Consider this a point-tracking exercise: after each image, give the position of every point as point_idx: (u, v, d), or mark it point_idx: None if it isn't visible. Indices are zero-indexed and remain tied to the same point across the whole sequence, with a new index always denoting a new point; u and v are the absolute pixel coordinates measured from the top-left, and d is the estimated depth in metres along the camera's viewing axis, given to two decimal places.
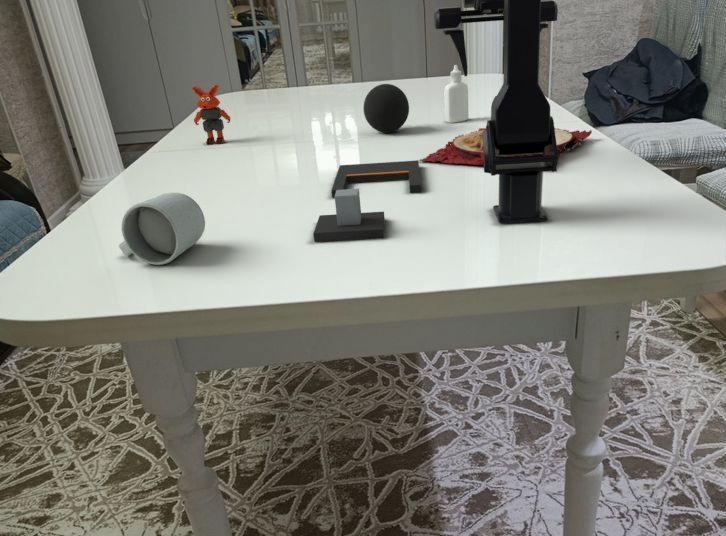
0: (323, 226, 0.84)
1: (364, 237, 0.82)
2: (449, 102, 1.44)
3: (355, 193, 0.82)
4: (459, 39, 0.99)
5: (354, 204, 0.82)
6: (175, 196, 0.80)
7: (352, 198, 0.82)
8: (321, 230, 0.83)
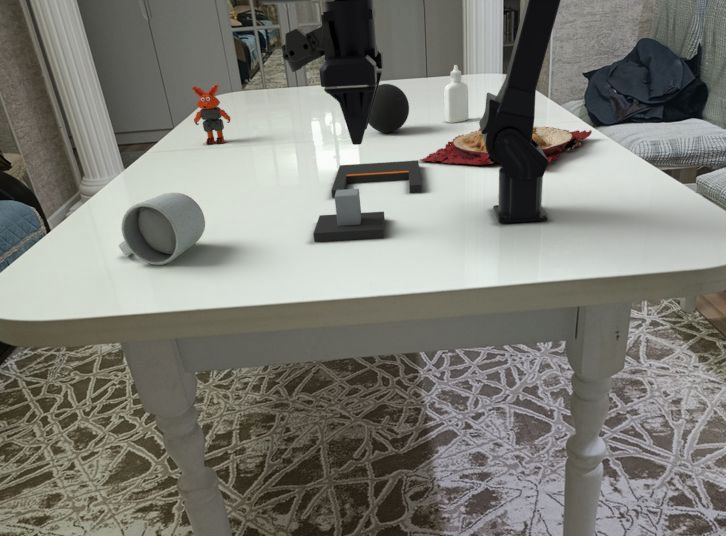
0: (323, 226, 0.84)
1: (364, 237, 0.82)
2: (449, 102, 1.44)
3: (355, 193, 0.82)
4: None
5: (354, 204, 0.82)
6: (175, 196, 0.80)
7: (352, 198, 0.82)
8: (321, 230, 0.83)
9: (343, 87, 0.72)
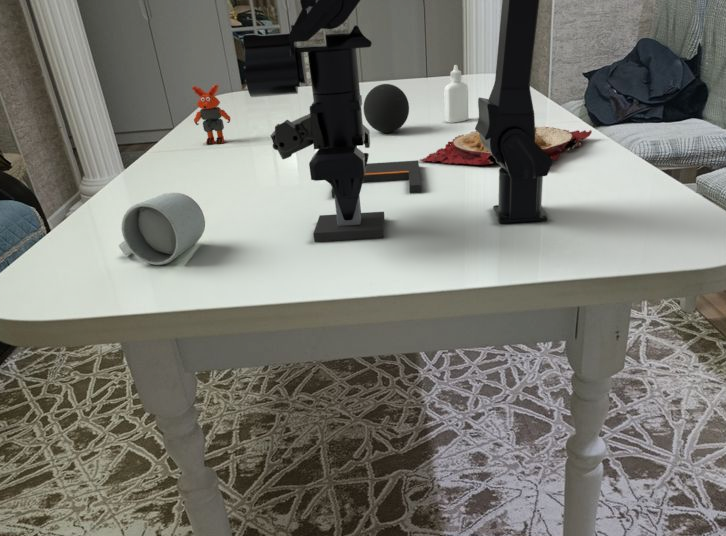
0: (323, 226, 0.84)
1: (364, 237, 0.82)
2: (449, 102, 1.44)
3: None
4: None
5: None
6: (176, 196, 0.80)
7: None
8: (321, 230, 0.83)
9: None
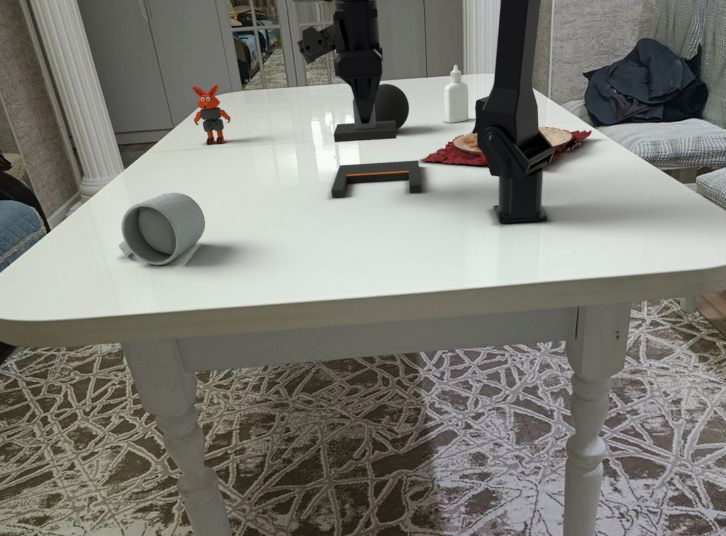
0: (342, 130, 0.93)
1: (379, 138, 0.92)
2: (449, 102, 1.44)
3: None
4: None
5: None
6: (175, 196, 0.80)
7: None
8: (340, 132, 0.92)
9: None
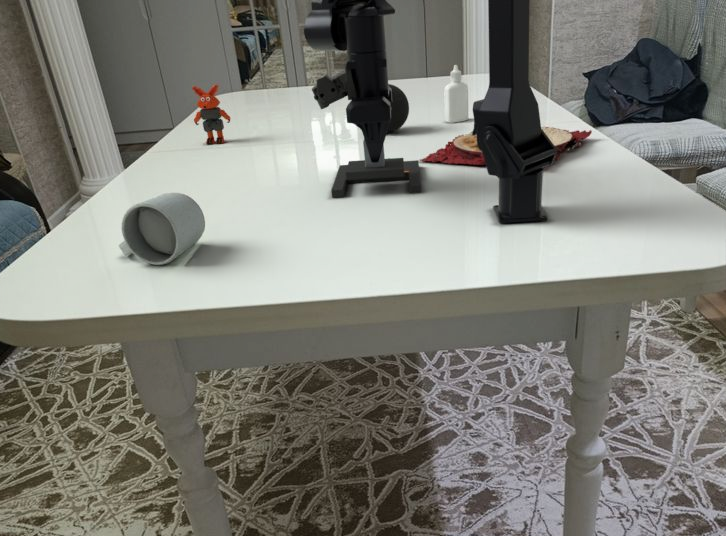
0: (353, 168, 1.00)
1: (388, 176, 0.98)
2: (449, 102, 1.44)
3: None
4: None
5: None
6: (175, 196, 0.80)
7: None
8: (351, 170, 0.99)
9: None
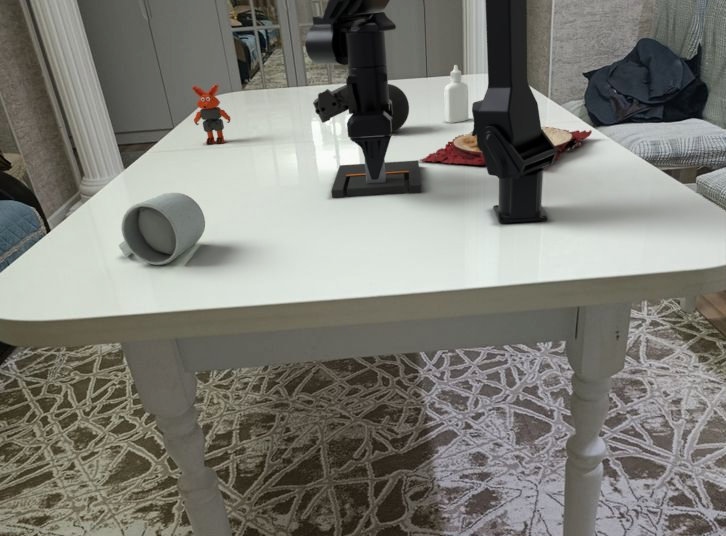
0: (355, 184, 1.01)
1: (389, 192, 0.99)
2: (449, 102, 1.44)
3: None
4: None
5: None
6: (175, 196, 0.80)
7: None
8: (353, 187, 1.00)
9: (365, 136, 0.91)
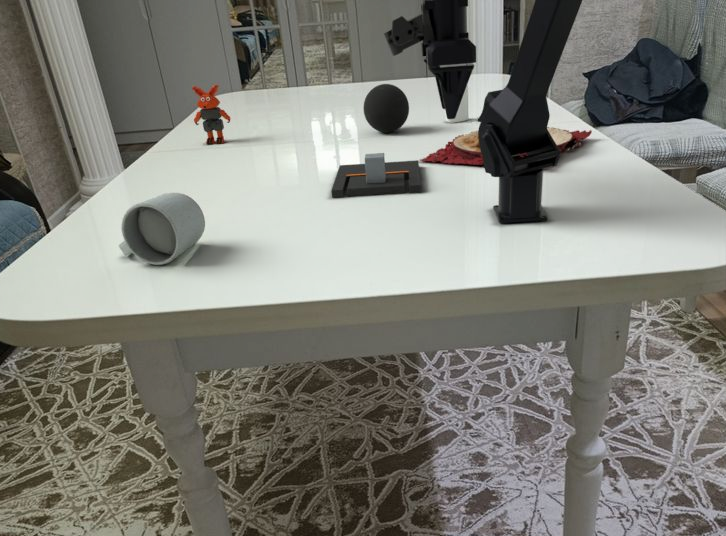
0: (355, 184, 1.01)
1: (389, 192, 0.99)
2: None
3: (381, 156, 1.00)
4: None
5: (380, 165, 1.00)
6: (175, 196, 0.80)
7: (379, 160, 0.99)
8: (353, 187, 1.00)
9: (446, 66, 0.82)
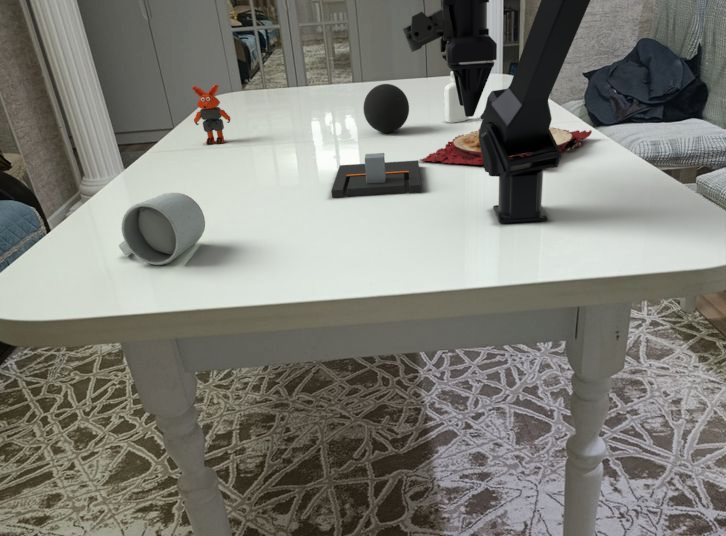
0: (355, 184, 1.01)
1: (389, 192, 0.99)
2: (449, 102, 1.44)
3: (381, 156, 1.00)
4: None
5: (380, 165, 1.00)
6: (175, 196, 0.80)
7: (379, 160, 0.99)
8: (353, 187, 1.00)
9: (466, 63, 0.81)
